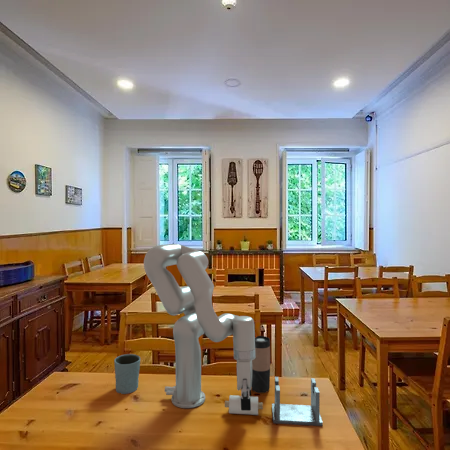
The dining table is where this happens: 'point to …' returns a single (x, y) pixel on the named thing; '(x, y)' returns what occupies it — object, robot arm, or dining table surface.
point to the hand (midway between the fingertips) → (246, 402)
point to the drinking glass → (127, 373)
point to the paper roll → (235, 405)
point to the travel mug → (261, 365)
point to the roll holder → (297, 409)
